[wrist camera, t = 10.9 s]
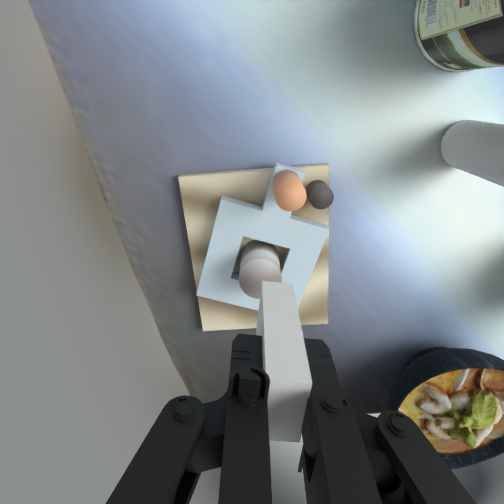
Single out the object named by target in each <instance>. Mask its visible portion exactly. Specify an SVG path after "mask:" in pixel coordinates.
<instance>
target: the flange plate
mask: <svg viewBox="0 0 504 504" xmlns="http://www.w3.org/2000/svg"><path fill="white" fill-rule="evenodd" d="M304 175H305V172H304V170H302V169H298V168H295V167H291V166H288V165H285V164H281V163H278V162H276V163H275V166H274V170H273V173H272V176H271V179H270V183H269V186H268V189H267V192H266V196H265V199H264V202H263V205H262V206H258V205H255V204H251V203H248V202H244V201H240V200H237V199H233V198H230V197H226V196H222V197H221V201H220V205H219V209H218V213H217V216H216V220H215V224H214V228H213V232H212V236H211V240H210V244H209V247H208V251H207V255H206V259H205V263H204V267H203V271H202V275H201V278H200V282H199V286H198V290H197V294H196V295H197V296H201V297H205V298H209V299H213V300H217V301H221V302H225V303H229V304H233V305H237V306H241V307H245V308H249V309H253V310H257V311H259V303H260V299H255V298H252V297H250V296H248V295H246V294H245V293H244V292H243V291H242V289H241V287H240V285H239V274H237V273H233V268H234V265H235V262H236V258H237V255H238V252H239V248H240V245H241V241H242V238H243V236H244V237H248V238H252V239H256V240H259V241H263V242H267V243H271V244H274V245H278V246H282V247H285V248H287V251H286V253H285V256H284V259H283V262H282V265H281V268H280V269H281V276H282V283H293V287H294V292H295V297H296V302H297V307H299V305H300V302H301V299H302V297H303V294H304V292H305V289H306V287H307V284H308V282H309V279H310V277H311V274H312V272H313V269H314V267H315V264H316V262H317V259H318V257H319V254H320V252H321V249H322V247H323V244H324V242H325V239H326V237H327V234H328V232H329V228H328V226H327V224H323V223H319V222H316V221H312V220H309V219H305V218H301V217H298V216H294V215H291V213H292V211H296V210H298V209H300V208H301V207H302V206H303V205H304V203H305V201H306V190H305V188H304V186H303V184H302V181H303V178H304Z"/></svg>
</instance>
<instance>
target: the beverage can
mask: <svg viewBox="0 0 504 504" xmlns="http://www.w3.org/2000/svg"><path fill="white" fill-rule="evenodd" d="M441 154H442V158H443V159H444V161H445V162H446V163H447V164H448V165H450V166H452V167H455V168H458V169H460V170H463V171H465V172H468V173H470V174H473V175H475V176H478V177H481V178H483V179H486V180H488V181H491V182H493V183H496V184H499V185H501V186H504V125H502V124H495V123H488V122H481V121H474V120H463V121H459V122H457V123H456V124H454V125H453V126H451V127H450V128H449V129H448V130H447V131H446V133H445V134H444V136H443V138H442V141H441Z"/></svg>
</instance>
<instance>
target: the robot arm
mask: <svg viewBox="0 0 504 504" xmlns="http://www.w3.org/2000/svg"><path fill="white" fill-rule="evenodd" d="M301 434H302V437H303V449H302V453H301V457H300V462H299V468H298V472H301V471H302V467H303V474H304V482H305V490H306V499H307V504H476V503H475V502H474V500H473V499H472V498H471V496H470V495H469V494H468V492H467V491H466V490H465V488H464V487H463V486H462V484H461V483H460V482H459V480H458V479H457V478H456V476H455V475H454V474H453V472H452V471H451V470H450V468H449V467H448V465H447V464H446V463H445V461H444V460H443V459H442V457H441V456H440V455H439V453H438V452H437V451H436V449H435V448H434V447H433V445H432V444H431V443H430V441H429V440H428V439H427V437H426V436H425V435H424V433H423V432H422V431H421V429H420V428H419V427H418V425H417V424H416V423H415V422H414V421H413V420H412V419H411V418H409V417H408V416H406V415H405V414H403V413H400V412H397V411H388V410H387V411H385V412H382V413H381V414H380V415H379V416H378V418H377V417H374V416H371V415H368V414H365V413H362V412H360V411H358V410H356V409H355V408H353V406H352V404H351V403H350V401H349V400H348V399H347V398H346V397H345V396H344V395H343V394H342V391H341V387H340V384H339V380H338V377H337V373H336V370H335V367H334V363H333V360H332V356H331V353H330V349H329V347H328V346H327V345H326V344H325V343H324V342H323V340H317V339H305V338H303V333H302V328H301V323H300V317H299V312H298V307H297V302H296V297H295V292H294V287H293V283H281V282H270V281H262V287H261V295H260V303H259V311H258V319H257V335H248V334H238V335H237V336H236V337H235V339H234V340H233V342H232V353H231V364H230V375H229V386H228V390H227V392H226V393H225V395H223V396H222V397H221V398H220V399H218V400H216V401H213V402H209V403H204V404H203V403H202V402H201V401H200V400H199V399H197V398H195V397H193V396H185V395H184V396H179V397H176V398H174V399H172V400H170V401H169V402H168V403H167V404H166V405H165V406H164V408H163V410H162V411H161V413H160V415H159V416H158V418H157V420H156V421H155V423H154V425H153V426H152V428H151V430H150V431H149V433H148V435H147V436H146V438H145V439H144V441H143V443H142V445H141V446H140V448H139V449H138V451H137V453H136V454H135V456H134V458H133V459H132V461H131V463H130V464H129V466H128V468H127V470H126V471H125V473H124V474H123V476H122V478H121V479H120V481H119V483H118V484H117V486H116V487H115V490H114V491H113V492H112V494H111V496H110V497H109V499H108V501H107V502H106V504H189V502H190V500H191V497H192V495H193V492H194V490H195V487H196V485H197V482H198V480H199V477H200V475H201V472H203V471H207V470H210V469H214V468H218V467H221V478H220V488H219V489H220V490H219V500H218V504H272V493H271V470H270V447H269V440H274V441H288V442H300V438H301Z"/></svg>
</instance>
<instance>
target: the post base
mask: <svg viewBox="0 0 504 504" xmlns="http://www.w3.org/2000/svg"><path fill="white" fill-rule="evenodd" d="M291 167H295V168H298V169H302V170H304V172H305V175H304V178H303V181H302V184H303V186H304V188H305V190H306V201H305V203H304V205H303V206H302V207H301V208H300V209H298V210H296V211H292V213H291V215H294V216H298V217H301V218H305V219H309V220H312V221H316V222H319V223H323V224H327V226H328V228H329V206H330V205H331V204H332V202H333V198H334V196H333V192H332V191H331V189H330V188H329V165H328V164H327V163H323V164H310V165H297V166H291ZM273 170H274V167H271V168H258V169H245V170H232V171H220V172H207V173H194V174H181V175H180V176H179V177H178V179H179V185H180V191H181V197H182V203H183V209H184V216H185V222H186V228H187V234H188V240H189V246H190V253H191V259H192V265H193V271H194V277H195V284H196V290H198V286H199V282H200V278H201V275H202V271H203V267H204V263H205V259H206V255H207V251H208V247H209V244H210V240H211V236H212V232H213V228H214V224H215V220H216V216H217V213H218V209H219V205H220V201H221V197H222V196H226V197H230V198H233V199H237V200H240V201H244V202H248V203H251V204H255V205H258V206H262V205H263V202H264V199H265V196H266V192H267V189H268V186H269V183H270V179H271V176H272V173H273ZM328 249H329V232H328V234H327V237H326V239H325V242H324V244H323V247H322V249H321V252H320V254H319V257H318V259H317V262H316V264H315V267H314V269H313V272H312V274H311V277H310V279H309V282H308V284H307V287H306V289H305V292H304V294H303V297H302V299H301V302H300V305H299V307H298V312H299V317H300V323H301V325H313V324H328ZM286 251H287V248H285V247H282V246H278V245H274V244H271V243H267V242H263V241H259V240H256V239H252V238H248V237H244V236H243V238H242V241H241V245H240V248H239V252H238V255H237V258H236V262H235V265H234V268H233V273H237V274H239V285H240V287H241V289H242V291H243V292H244V293H245V294H246V295H248V296H250V297H252V298H255V299H260V295H261V287H262V281H270V282H281V283H282V276H281V269H280V268H281V265H282V262H283V259H284V256H285V253H286ZM198 302H199V308H200V314H201V321H202V327H203V331H214V330H230V329H247V328H257V319H258V311H257V310H253V309H249V308H245V307H241V306H237V305H233V304H229V303H225V302H221V301H217V300H213V299H209V298H205V297H201V296H198Z"/></svg>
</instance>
